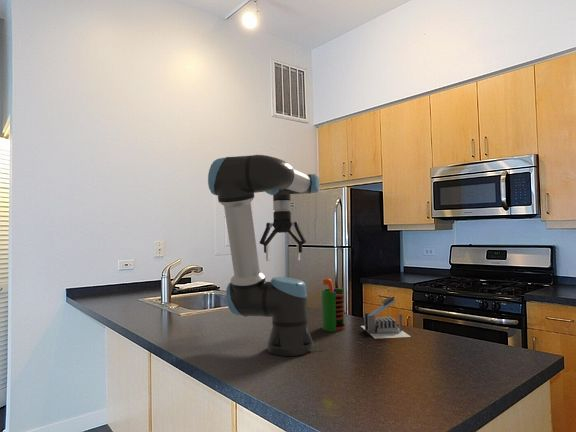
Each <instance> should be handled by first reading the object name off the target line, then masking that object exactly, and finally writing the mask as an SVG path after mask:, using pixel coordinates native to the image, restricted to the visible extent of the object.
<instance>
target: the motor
mask: <svg viewBox="0 0 576 432" xmlns="http://www.w3.org/2000/svg"><path fill="white" fill-rule="evenodd" d="M322 281H323V286H324V285H327V286H328V288H323V289H321V316H322V317H321V321H322V322H321V329H322V331H325V332H326V331H327V332H334V333H336V332H339V331H344V330H346V324H345V302H344V300H345V297H344V296H345V293H344V288H335V287H334V284H333V280H332V279H331V278H323V280H322Z"/></svg>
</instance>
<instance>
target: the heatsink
mask: <svg viewBox="0 0 576 432" xmlns="http://www.w3.org/2000/svg"><path fill="white" fill-rule="evenodd" d="M375 333H376V334H392V333H399V326H397V320H396V319H394V318H393V317H391V316H389V315H388V316H380V317H378V316H375Z"/></svg>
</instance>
